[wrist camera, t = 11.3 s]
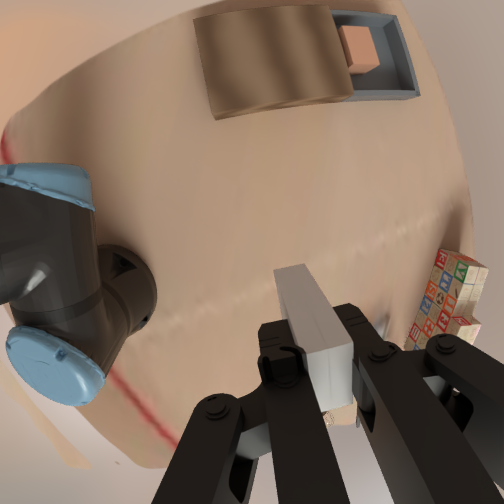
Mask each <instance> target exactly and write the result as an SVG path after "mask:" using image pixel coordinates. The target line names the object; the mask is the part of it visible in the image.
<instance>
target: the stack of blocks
mask: <svg viewBox="0 0 504 504" xmlns="http://www.w3.org/2000/svg"><path fill="white" fill-rule="evenodd" d="M488 270H489V268H487V267H485V266H484V265H482V264H480V263H478V262H477V261H475V260H473V259H471V258H469V257H467V256H465V255H463V254H461V253H459V252H454V251H449V250H444V249H439V251H438V255H437V258H436V262H435V265H434V267H433V270H432V274H431V277H430V280H429V283H428V286H427V289H426V292H425V295H424V298H423V301H422V304H421V307H420V310H419V312H418V315H417V318H416V320H415V323H414V324H413V327H412V329H411V332H410V334H409V336H408V339H407V341H406V343H405V346H404V349H405V350H406V351H411V350H420V349H425V348H426V344H427V341H428V340H429V339H430V338H431V337H432V336H435V335H437V334H443V333H447V334H453V335H455V336H458V337H460V338H461V339H463V340H465V341H466V342H468V343H469V344H471V345H473V343H474V340H475V338H476V336H477V334H478V332H479V329H480V327H481V323H480V322H479V321H478V320H476V319H475V318H474V317H473V316H472V315H473V312H474V310H475V307H476V305H477V302H478V300H479V297H480V294H481V291H482V289H483V286H484V282H485V280H486V276H487V273H488Z"/></svg>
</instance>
